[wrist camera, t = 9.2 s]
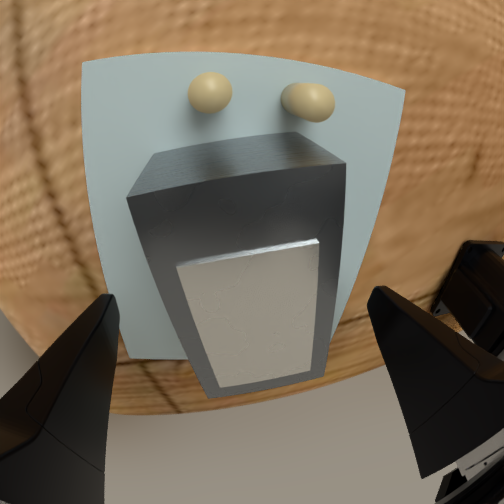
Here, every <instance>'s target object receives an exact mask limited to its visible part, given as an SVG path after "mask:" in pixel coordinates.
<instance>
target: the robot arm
mask: <svg viewBox="0 0 504 504" xmlns="http://www.w3.org/2000/svg"><path fill="white" fill-rule="evenodd" d="M503 255H504V242H498V241H474V240H469V241H467V242H466V243H465V244H464V245H463V247H462V249H461V252H460V254H459V256H458V258H457V260H456V263H455V265H454V267H453V269H452V271H451V273H450V275H449V277H448V279H447V281H446V283H445V285H444V286H443V288H442V290H441V292H440V294H439V296H438V298H437V299H436V301H435V303H434V305H433V306H432V308H431V310H430V312H431V313H432V315H433V316H438V315H443V314H447V313H451V314H452V315H453V317H454V318H455V319H456V321H457V322H458V323H459V325H460V326H461V327H462V329H463V330H464V331H465V333H466V334H467V336H468V337H469V338H470V339H472V340H473V342H474V343H475V344H474V343H472V342H471V341H469V340H468V339H466V338H465V337H463V336H462V335H460V334H459V333H457V332H455V331H454V330H453V329H451V328H450V327H448V326H447V325H445V324H444V323H442V322H441V321H439V320H438V319H436V318H435V317H433V316H432V315H430V314H429V313H427V312H426V311H424V310H423V309H421V308H420V307H418V306H416V305H415V304H413V303H412V302H410V301H409V300H407V299H406V298H404V297H402V296H401V295H399V294H398V293H396V292H394V291H393V290H391V289H390V288H388V287H387V286H376V287H374V289H373V291H372V293H371V295H370V298H369V300H368V303H367V309H368V313H369V316H370V319H371V323H372V326H373V330H374V333H375V337H376V340H377V343H378V346H379V348H380V351H381V354H382V356H383V359H384V361H385V364H386V367H387V370H388V372H389V375H390V378H391V381H392V383H393V386H394V389H395V392H396V395H397V398H398V401H399V404H400V407H401V410H402V413H403V416H404V419H405V422H406V425H407V429H408V432H409V434H410V435H409V436H410V439H411V442H412V446H413V450H414V453H415V457H416V460H417V464H418V468H419V472H420V476H421V478H422V479H423V478H425V477H427V476H429V475H431V474H433V473H435V472H437V471H439V470H441V469H443V468H445V467H446V466H448V465H450V464H452V463H453V462H455V461H456V463H457V466H458V467H457V468H455V469H454V470H452V471H451V472H450V473H448V474H446V475H445V476H443V480H442V482H441V485H440V489H439V491H438V494H437V497H436V499H435V502H436V503H435V504H504V260H503V259H502V257H503ZM119 324H120V313H119V309H118V305H117V302H116V298H115V296H114V295H113V294H101V295H100V296H99V297H98V298H97V299H96V300H95V301H94V302H93V303H92V304H91V305H90V306H89V307H88V308H87V309H86V310H85V311H84V312H83V313H82V314H81V315H80V316H79V317H78V318H77V319H76V320H75V321H74V322H73V323H72V324H71V325H70V326H69V327H68V328H67V329H66V330H65V331H64V332H63V333H62V334H61V335H60V336H59V337H58V338H57V340H56V341H55V342H54V343H53V344H52V345H51V346H50V347H49V348H48V349H47V350H46V351H45V353H44V354H43V355H42V356H41V357H40V358H39V360H38V361H36V363H35V364H34V365H33V366H32V367H31V368H30V369H29V370H28V371H27V372H26V373H25V375H24V376H23V377H22V378H21V379H20V380H19V381H18V382H17V383H16V384H15V385H14V386H13V387H12V388H11V389H10V390H9V391H8V392H7V393H6V394H5V395H4V396H3V397H2V398H1V399H0V504H104V481H105V474H104V471H105V454H106V440H107V429H108V419H109V410H110V402H111V394H112V387H113V380H114V374H115V368H116V361H117V349H118V335H119Z"/></svg>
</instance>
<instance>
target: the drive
mask: <svg viewBox="0 0 504 504" xmlns="http://www.w3.org/2000/svg"><path fill="white" fill-rule="evenodd" d="M345 192H346V162H344V161H343V160H341V159H340V158H338V157H336V156H335V155H333V154H332V153H330V152H329V151H327V150H326V149H324V148H322V147H321V146H319V145H318V144H316V143H314V142H313V141H311V140H310V139H308V138H306V137H305V136H303V135H301V134H300V133H298V132H296V131H295V132H284V133H274V134H264V135H256V136H248V137H241V138H233V139H227V140H220V141H214V142H208V143H202V144H197V145H192V146H186V147H181V148H176V149H172V150H167V151H162V152H158V153H154V154H153V155H152V157H151V158H150V160H149V161H148V163H147V164H146V166H145V168H144V169H143V171H142V172H141V174H140V175H139V177H138V179H137V180H136V182H135V183H134V185H133V187H132V188H131V190H130V192H129V193H128V195H127V197H126V200H127V203H128V206H129V210H130V213H131V216H132V219H133V222H134V225H135V228H136V231H137V234H138V237H139V240H140V243H141V246H142V249H143V251H144V254H145V257H146V260H147V263H148V265H149V268H150V271H151V273H152V276H153V278H154V281H155V284H156V286H157V289H158V291H159V294H160V296H161V299H162V301H163V303H164V306H165V308H166V311H167V313H168V315H169V318H170V320H171V322H172V325H173V327H174V329H175V331H176V334H177V336H178V338H179V340H180V342H181V345H182V347H183V349H184V351H185V353H186V355H187V357H188V360H189V362H190V364H191V366H192V368H193V370H194V372H195V374H196V376H197V378H198V380H199V382H200V384H201V386H202V388H203V390H204V391H205V393H206V395H207V397H208V399H209V398H217V397H224V396H231V395H238V394H244V393H250V392H255V391H261V390H266V389H271V388H276V387H281V386H286V385H290V384H294V383H299V382H303V381H307V380H311V379H315V378H319V377H323V376H324V372H325V367H326V361H327V356H328V350H329V344H330V338H331V332H332V325H333V319H334V312H335V304H336V297H337V289H338V280H339V271H340V262H341V251H342V239H343V226H344V211H345Z"/></svg>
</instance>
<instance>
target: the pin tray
mask: <svg viewBox="0 0 504 504" xmlns="http://www.w3.org/2000/svg"><path fill="white" fill-rule="evenodd" d="M405 91H406V90H403V89H400V88H398V87H395V86H392V85H389V84H386V83H383V82H380V81H377V80H374V79H371V78H367V77H364V76H360V75H357V74H353V73H350V72H346V71H342V70H338V69H334V68H329V67H325V66H320V65H316V64H311V63H306V62H300V61H294V60H288V59H282V58H275V57H267V56H259V55H249V54H237V53H221V52H164V53H148V54H136V55H126V56H118V57H111V58H104V59H98V60H92V61H87V62H82V84H81V113H82V137H83V152H84V163H85V173H86V181H87V189H88V197H89V203H90V210H91V216H92V222H93V227H94V232H95V238H96V242H97V247H98V252H99V256H100V261H101V265H102V269H103V273H104V277H105V281H106V285H107V289H108V292H109V294H113V295H114V296H115V298H116V302H117V305H118V309H119V313H120V324H119V329H120V332H121V335H122V338H123V341H124V343H125V346H126V349H127V352H128V355H129V357H130V358H135V359H188V357H187V355H186V353H185V351H184V349H183V347H182V345H181V342H180V340H179V338H178V336H177V334H176V331H175V329H174V327H173V325H172V322H171V320H170V318H169V315H168V313H167V311H166V308H165V306H164V303H163V301H162V299H161V296H160V294H159V291H158V289H157V286H156V284H155V281H154V278H153V276H152V273H151V271H150V268H149V265H148V263H147V260H146V257H145V254H144V251H143V249H142V246H141V243H140V240H139V237H138V234H137V231H136V228H135V225H134V222H133V219H132V216H131V213H130V210H129V206H128V203H127V200H126V197H127V195H128V193H129V192H130V190H131V188H132V187H133V185H134V183H135V182H136V180H137V179H138V177H139V175H140V174H141V172H142V171H143V169H144V168H145V166H146V164H147V163H148V161H149V160H150V158H151V157H152V155H153V154H154V153H158V152H162V151H167V150H172V149H176V148H181V147H186V146H192V145H197V144H202V143H208V142H214V141H220V140H227V139H233V138H241V137H248V136H256V135H264V134H274V133H284V132H295V131H296V132H298V133H300V134H301V135H303V136H305V137H306V138H308V139H310V140H311V141H313V142H314V143H316V144H318V145H319V146H321V147H322V148H324V149H326V150H327V151H329V152H330V153H332V154H333V155H335V156H336V157H338V158H340V159H341V160H343V161H344V162H346V192H345V211H344V226H343V239H342V251H341V262H340V271H339V280H338V289H337V297H336V304H335V312H334V319H333V325H332V332H331V338H330V341H331V339H332V337H333V335H334V332H335V330H336V328H337V325H338V323H339V320H340V318H341V316H342V313H343V311H344V308H345V306H346V303H347V301H348V298H349V296H350V293H351V290H352V288H353V285H354V283H355V280H356V277H357V274H358V272H359V269H360V266H361V263H362V260H363V258H364V255H365V252H366V249H367V246H368V243H369V240H370V237H371V233H372V230H373V227H374V224H375V221H376V217H377V214H378V211H379V207H380V204H381V200H382V197H383V193H384V189H385V186H386V182H387V178H388V174H389V170H390V166H391V162H392V157H393V153H394V149H395V144H396V140H397V135H398V130H399V125H400V120H401V114H402V109H403V103H404V97H405Z"/></svg>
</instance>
